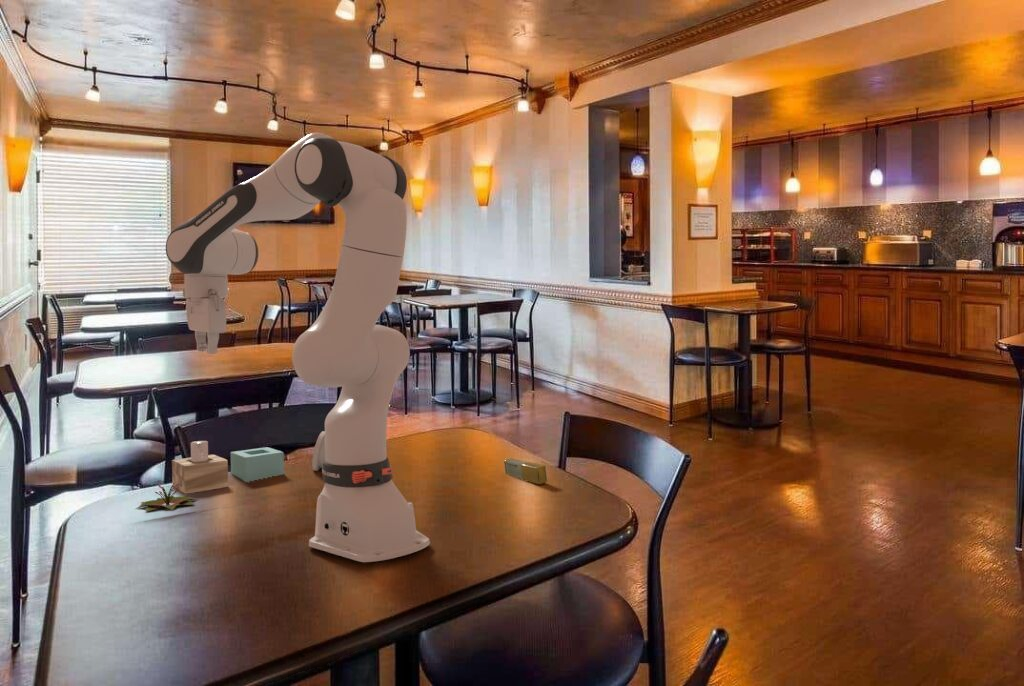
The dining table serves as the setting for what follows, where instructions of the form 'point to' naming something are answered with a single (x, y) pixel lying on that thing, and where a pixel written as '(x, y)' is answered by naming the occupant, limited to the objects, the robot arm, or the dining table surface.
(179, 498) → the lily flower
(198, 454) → the lock pin
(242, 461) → the teal socket
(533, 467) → the medication box
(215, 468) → the block
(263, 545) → the dining table surface
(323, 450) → the mechanical component
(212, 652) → the dining table surface
